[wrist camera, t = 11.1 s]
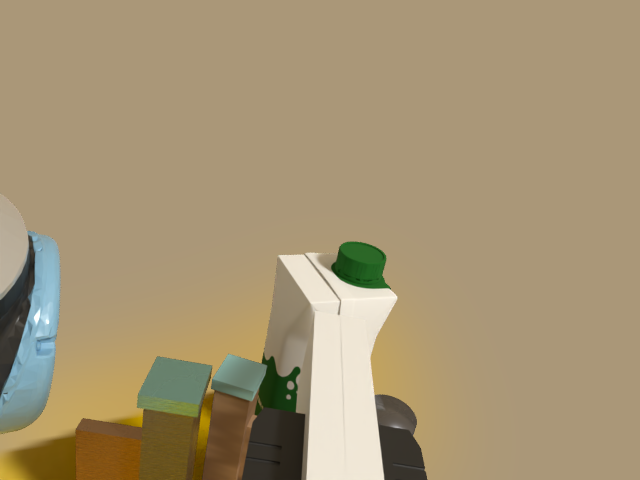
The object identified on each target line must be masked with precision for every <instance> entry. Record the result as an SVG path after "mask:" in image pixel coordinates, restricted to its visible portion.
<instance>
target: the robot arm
mask: <svg viewBox="0 0 640 480" xmlns="http://www.w3.org/2000/svg"><path fill="white" fill-rule="evenodd" d="M59 308H60V257H59V250H58V246H57V244H56V242H55V241H54V240H53V239H52V238H50V237H49V236H46V235H39V234H37V233H35V232H31V231H27V230H26V227H25V223H24V221H23V219H22V216H21V214H20V213H19V212H18V210H17V209H16V207H15V206H14V205H13V204H12V203H11V202H10V201H9V200H8V199H7V198H6V197H5V196H3V195H2V194H0V434H3V433H8V432H13V431H18V430H20V429H23V428H25V427H27V426H29V425H30V424H32V423H33V422H34V421H35V420H36V419H37V418H38V417H39V416H40V415H41V413H42V412H43V410H44V408H45V406H46V403H47V400H48V397H49V393H50V388H51V383H52V377H53V370H54V362H55V343H54V342H55V339H56V336H57V328H58V323H59ZM424 469H425V466H424V462H423V457H422V452H421V448H420V446H419V445H418V443H417V442H416V440H415V439H414V437H413V435H412V434H411V432H410V431H409V430H407V429H401V428H395V427H389V426H383V425H378V422H377V413H376V405H375V396H374V388H373V379H372V371H371V363H370V354H369V345H368V337H367V328H366V320H364V319H359V318H353V317H347V316H342V315H336V314H331V313H325V312H319V311H315V312H314V317H313V321H312V326H311V330H310V334H309V339H308V343H307V348H306V352H305V357H304V361H303V365H302V370H301V374H300V379H299V383H298V393H297V404H296V412H290V411H284V410H278V409H272V408H266V407H264V408H263V409H262V411H261V412H260V413H259V415H258V416H257V417H256V418H255V420H254V421H253V422H252V427H251V433H250V438H249V443H248V449H247V454H246V459H245V464H244V470H243V475H242V480H427V476H426V472H425V471H424Z"/></svg>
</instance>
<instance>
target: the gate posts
mask: <svg viewBox="0 0 640 480" xmlns="http://www.w3.org/2000/svg"><path fill="white" fill-rule="evenodd" d="M211 371H212V366H211V365H205V364H199V363H193V362H188V361H182V360H176V359H170V358H164V357H157V358H156V360H155V362H154V364H153V366H152V368H151V370H150V372H149V374H148V376H147V378H146V380H145V382H144V383H143V385H142V387H141V390H140V391H139V393H138V402H137V407H138V408H143V409H144V410H143V425H142V428H141V427H134V426H128V425H122V424H116V423H109V422H103V421H97V420H90V419H84V418H83V419H82V420H81V422H80V424H79V425H78V427H77V428H76V480H192V477H193V470H194V462H195V454H196V447H197V439H198V431H199V424H200V416H201V408H202V403H203V400H204V396H205V393H206V390H207V387H208V384H209V381H210V378H211ZM374 396H375V405H376V413H377V422H378V425H383V426H389V427H395V428H401V429H407V430H409V431H410V432H411V434H412V435H413V434H414V431H415V428H416V425H417V420H416V417H415V414H414V412H413V411H412V410H411V408H410V407H409V406H408V405H407V404H405V403H404V402H402V401H401V400H399V399H397V398H395V397H392V396H388V395H374Z"/></svg>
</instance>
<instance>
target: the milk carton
mask: <svg viewBox="0 0 640 480" xmlns="http://www.w3.org/2000/svg"><path fill="white" fill-rule="evenodd" d="M385 262H386V255H385V254H384V252H382V251H381V250H380V249H378V248H376V247H374V246H372V245H369V244H366V243H362V242H346V243H343V244H342V245H341V246H340V248H339V252H338V253H329V254H327V253H318V254H317V253H305V254H304V255H278V258H277V268H276V277H275V286H274V294H273V302H272V309H271V315H270V320H269V326H268V331H267V337H266V342H265V348H264V353H263V359H262V364H264V365H267V368H266V374H265V376H264V378H263V380H262V382H261V384H260V387H259V392H258V398H257V403H256V408H255V414H254V415H256V416H258V415H259V413H260V412H261V411H262V409H263V408H264V407H266V408H272V409H278V410H284V411H290V412H296V404H297V393H298V383H299V379H300V374H301V370H302V365H303V361H304V357H305V352H306V348H307V343H308V339H309V334H310V330H311V326H312V321H313V317H314V312H315V311H319V312H325V313H331V314H336V315H342V316H347V317H353V318H359V319H364V320H366V328H367V337H368V345H369V354H370V356H371V353H372V349H373V346H374V343H375V339H376V337H377V334H378V332H379V330H380V329H381V327H382V325H383V323H384V321H385V320H386V318H387V316H388V315H389V313H390V311H391V309H392V307H393V305H394V304H395V302H396V300H397V296H396V295H395V294H394V293H393V292H392V291H391V288H390V287H389V286H388V285H387V284H386V283H385V280H384V278H383V276H382V274H383V270H384V266H385Z"/></svg>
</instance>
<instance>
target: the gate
mask: <svg viewBox="0 0 640 480" xmlns="http://www.w3.org/2000/svg"><path fill="white" fill-rule="evenodd" d="M266 368H267V365H264V364H260V363H257V362H254V361H250V360H247V359H244V358H241V357H237V356H234V355H231V354H228V355H227V357H226V359H225V360H224V362H223V363H222V365H221V366H220V368H219V369H218V371H217V372H216V374H215V376H214V377H213V379H212V386H211V389H214V390H215V392H214V399H213V406H212V413H211V420H210V427H209V434H208V442H207V449H206V456H205V463H204V470H203V477H202V480H242V475H243V470H244V464H245V459H246V454H247V449H248V443H249V438H250V433H251V427H252V422H253V421H254V420H255V418H256V417H257V416H256V415H254V414H255V408H256V403H257V398H258V392H259V387H260V384H261V382H262V380H263V378H264V376H265V374H266Z"/></svg>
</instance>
